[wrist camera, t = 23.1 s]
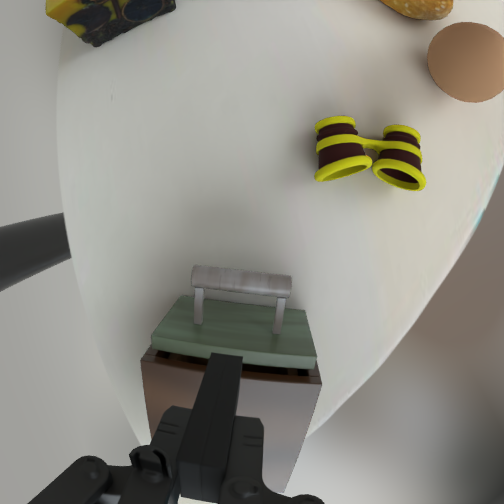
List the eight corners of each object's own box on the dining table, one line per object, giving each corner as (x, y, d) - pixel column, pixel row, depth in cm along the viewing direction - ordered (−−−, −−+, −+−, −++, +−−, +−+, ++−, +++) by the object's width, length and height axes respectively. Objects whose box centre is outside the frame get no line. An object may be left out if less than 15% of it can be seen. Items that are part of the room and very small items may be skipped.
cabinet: (177, 306, 28) (139, 359, 19) (307, 322, 28) (322, 384, 18) (179, 417, 32) (158, 475, 22) (282, 430, 32) (283, 493, 22)
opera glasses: (406, 142, 24) (430, 124, 19) (409, 194, 24) (436, 186, 19) (310, 129, 25) (319, 106, 20) (310, 185, 25) (320, 172, 20)
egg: (431, 116, 23) (500, 93, 12) (399, 49, 21) (451, 1, 11) (477, 104, 22) (543, 86, 11) (449, 43, 20) (504, 7, 10)
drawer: (182, 247, 26) (149, 272, 18) (313, 261, 26) (331, 294, 18) (181, 407, 30) (164, 456, 23) (281, 420, 30) (282, 472, 22)
